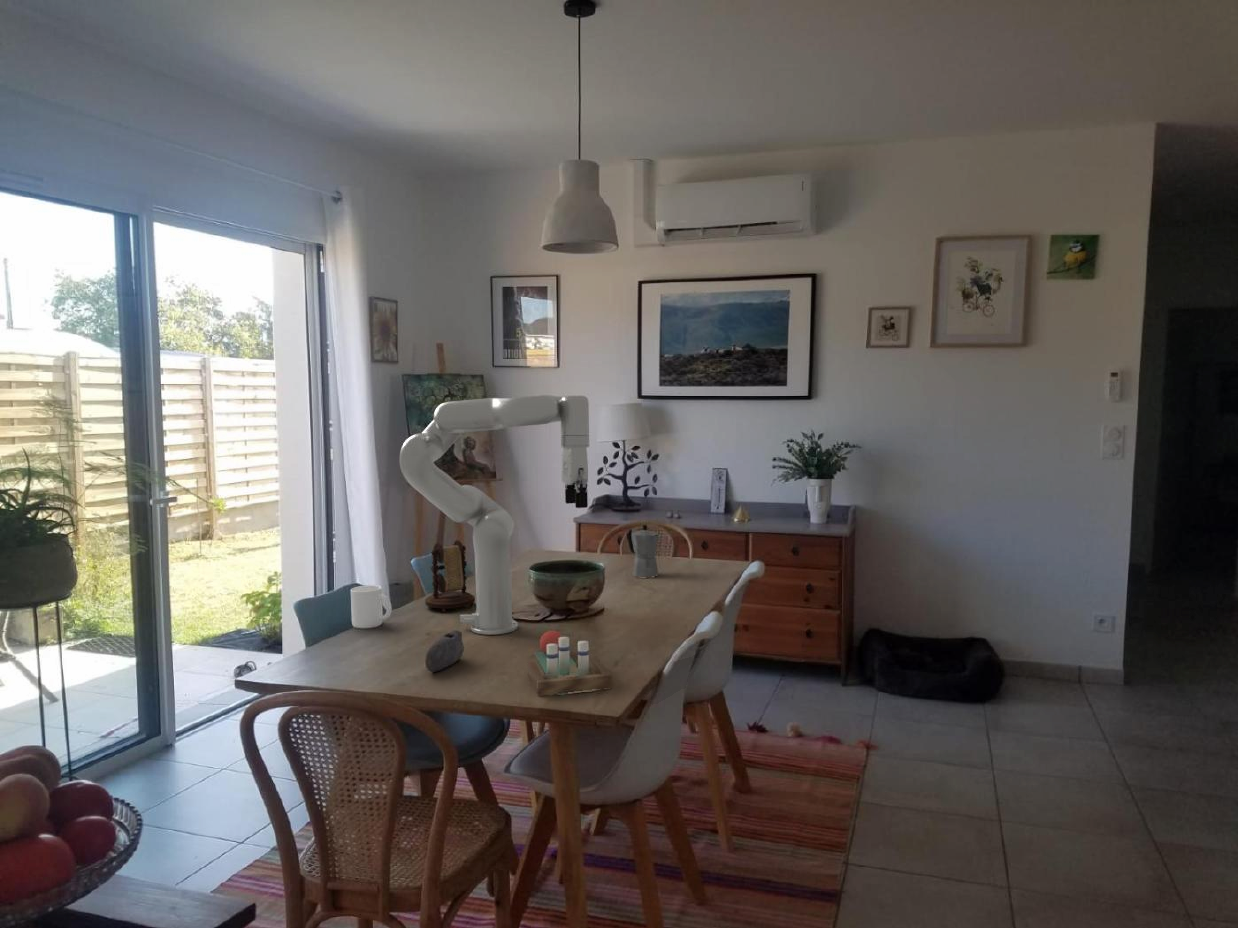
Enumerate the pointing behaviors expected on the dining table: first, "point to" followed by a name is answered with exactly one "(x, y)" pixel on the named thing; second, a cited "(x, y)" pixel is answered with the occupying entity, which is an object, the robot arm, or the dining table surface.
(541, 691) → the backstop
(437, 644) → the perforated stone tool
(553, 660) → the pin left
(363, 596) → the mug
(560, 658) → the pin front
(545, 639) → the ball
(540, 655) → the strip
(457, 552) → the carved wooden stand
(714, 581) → the dining table surface
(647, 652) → the dining table surface
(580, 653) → the pin right
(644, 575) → the coffeepot
